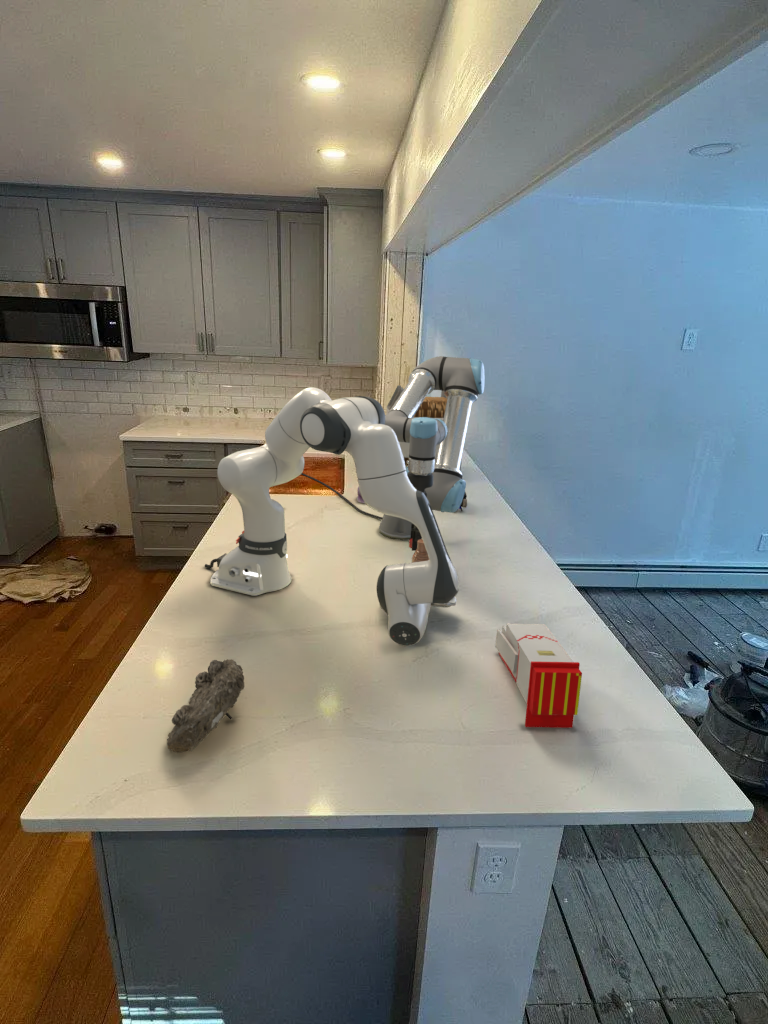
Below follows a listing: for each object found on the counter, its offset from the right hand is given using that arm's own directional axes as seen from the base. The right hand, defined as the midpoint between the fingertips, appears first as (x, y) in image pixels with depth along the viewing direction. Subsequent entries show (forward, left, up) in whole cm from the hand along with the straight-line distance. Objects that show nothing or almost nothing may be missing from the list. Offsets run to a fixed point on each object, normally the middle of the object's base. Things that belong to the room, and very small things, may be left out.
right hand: (415, 547), depth 171 cm
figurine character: (-32, +54, -7) cm, 63 cm away
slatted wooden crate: (-77, +77, -7) cm, 109 cm away
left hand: (+14, -12, -1) cm, 18 cm away
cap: (0, 0, +2) cm, 2 cm away
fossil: (+25, -76, -7) cm, 81 cm away
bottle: (+15, -12, -7) cm, 21 cm away
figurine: (-59, +29, -7) cm, 66 cm away
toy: (+56, -19, -7) cm, 60 cm away
